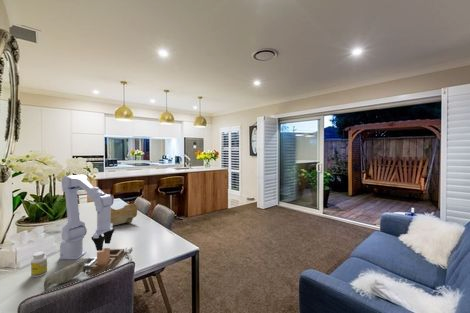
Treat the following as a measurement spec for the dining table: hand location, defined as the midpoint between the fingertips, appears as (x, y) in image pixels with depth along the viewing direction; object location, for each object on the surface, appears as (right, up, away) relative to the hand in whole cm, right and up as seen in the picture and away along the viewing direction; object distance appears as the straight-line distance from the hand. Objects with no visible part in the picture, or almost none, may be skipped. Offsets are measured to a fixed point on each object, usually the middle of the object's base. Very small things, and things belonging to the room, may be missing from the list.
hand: (103, 246), depth 108 cm
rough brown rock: (-24, -7, +63) cm, 68 cm away
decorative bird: (-9, -11, -11) cm, 18 cm away
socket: (-10, -10, +2) cm, 15 cm away
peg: (0, -9, -1) cm, 9 cm away
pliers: (+4, -10, +12) cm, 16 cm away
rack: (0, -10, +4) cm, 11 cm away
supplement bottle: (-26, -10, -7) cm, 28 cm away
